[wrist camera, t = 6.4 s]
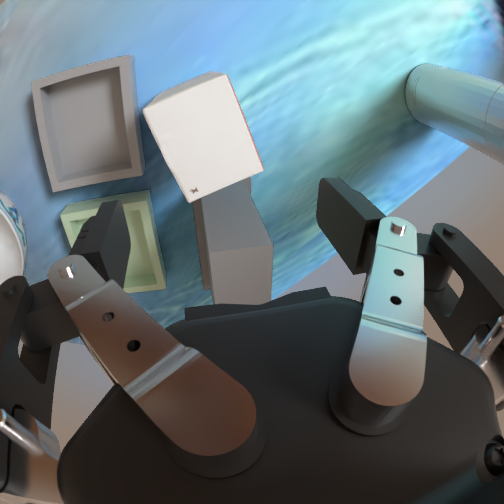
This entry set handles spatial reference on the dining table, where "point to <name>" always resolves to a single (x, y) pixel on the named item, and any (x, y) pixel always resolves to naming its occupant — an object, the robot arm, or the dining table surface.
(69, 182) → the grey tray
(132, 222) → the sage tray
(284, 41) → the dining table surface
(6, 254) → the chinaware
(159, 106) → the small box
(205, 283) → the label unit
